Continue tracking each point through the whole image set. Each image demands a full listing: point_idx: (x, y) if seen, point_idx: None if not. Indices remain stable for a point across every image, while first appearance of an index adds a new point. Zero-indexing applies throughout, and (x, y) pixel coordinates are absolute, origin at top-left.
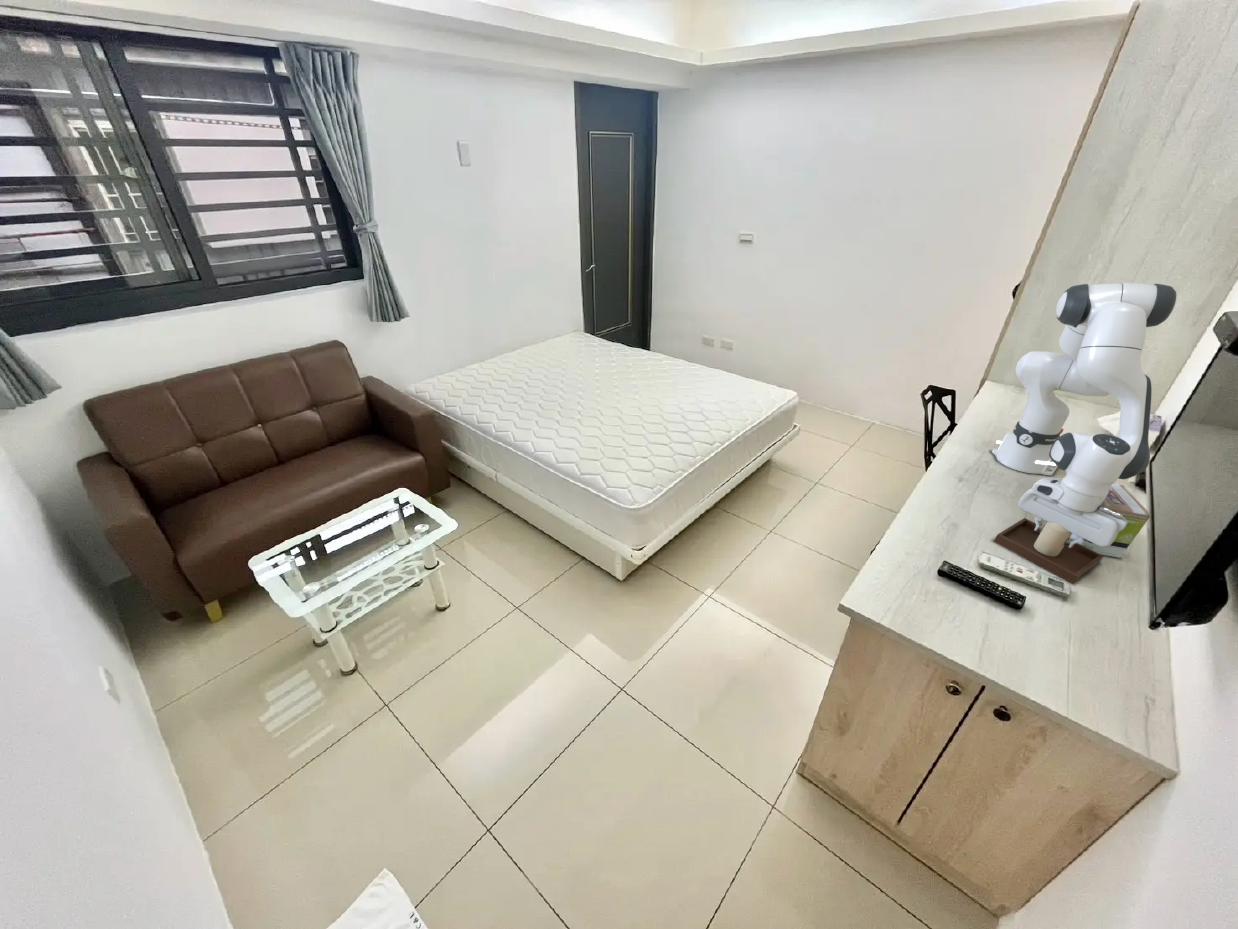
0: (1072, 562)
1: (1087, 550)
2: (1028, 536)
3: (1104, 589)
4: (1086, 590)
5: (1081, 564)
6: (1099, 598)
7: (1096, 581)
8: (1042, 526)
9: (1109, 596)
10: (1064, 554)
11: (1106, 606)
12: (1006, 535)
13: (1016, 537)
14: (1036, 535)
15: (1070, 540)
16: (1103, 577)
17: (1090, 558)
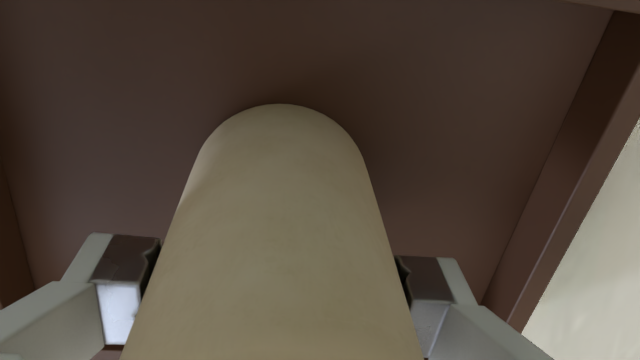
0: (458, 185)
1: (568, 2)
2: (108, 100)
3: (620, 255)
4: (534, 323)
5: (513, 161)
6: (585, 332)
7: (588, 219)
8: (119, 311)
9: (634, 288)
10: (398, 129)
11: (607, 356)
12: (18, 228)
13: (71, 193)
14: (135, 19)
15: (424, 335)
16: (637, 145)
17: (581, 9)
